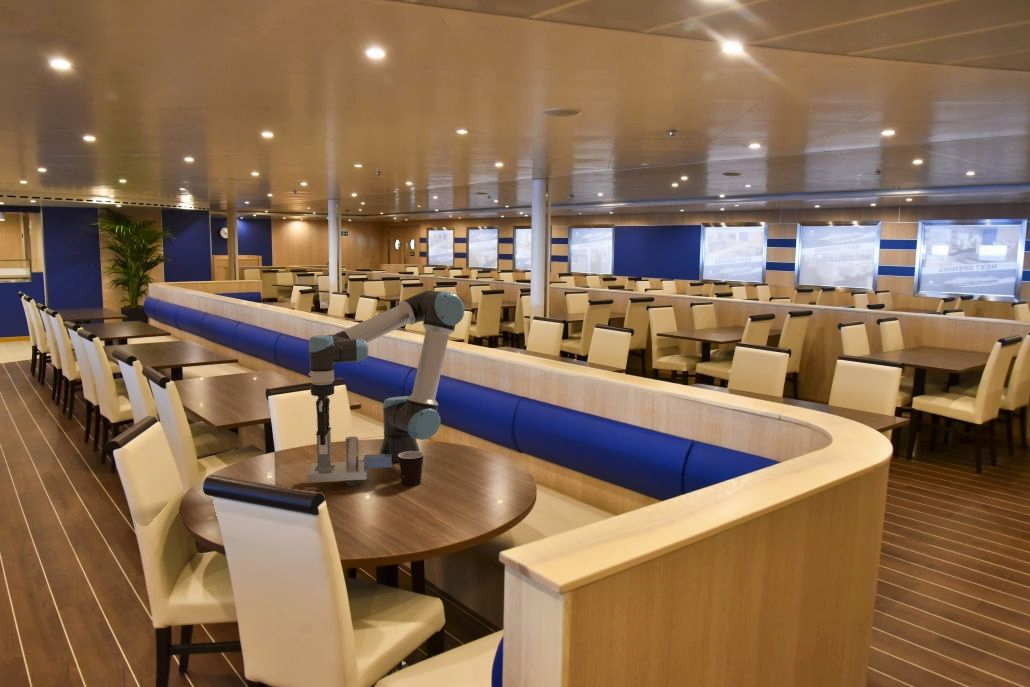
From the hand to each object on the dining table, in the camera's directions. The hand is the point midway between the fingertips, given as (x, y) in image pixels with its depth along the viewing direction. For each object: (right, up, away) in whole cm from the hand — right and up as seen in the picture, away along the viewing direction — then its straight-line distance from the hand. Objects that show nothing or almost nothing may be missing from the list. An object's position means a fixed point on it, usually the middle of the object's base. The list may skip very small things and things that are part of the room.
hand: (324, 451), depth 233 cm
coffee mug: (+29, -11, +6) cm, 31 cm away
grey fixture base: (+9, -11, +3) cm, 15 cm away
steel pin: (0, -5, +1) cm, 5 cm away
